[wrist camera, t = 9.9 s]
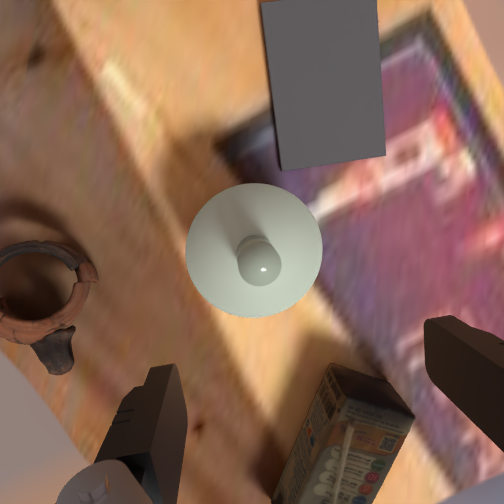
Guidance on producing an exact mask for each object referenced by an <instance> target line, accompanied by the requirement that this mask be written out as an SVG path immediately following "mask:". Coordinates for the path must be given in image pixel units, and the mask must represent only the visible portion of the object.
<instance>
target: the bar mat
mask: <svg viewBox="0 0 504 504" xmlns="http://www.w3.org/2000/svg"><path fill="white" fill-rule="evenodd" d="M260 7H261V15H262V23H263V31H264V39H265V47H266V55H267V63H268V71H269V79H270V87H271V94H272V102H273V110H274V118H275V126H276V134H277V142H278V150H279V158H280V166H281V171H288V170H294V169H301V168H308V167H314V166H321V165H327V164H334V163H340V162H347V161H354V160H360V159H367V158H373V157H380V156H386V147H385V130H384V113H383V97H382V80H381V64H380V47H379V31H378V14H377V0H279V1H271V2H263V3H261V6H260Z"/></svg>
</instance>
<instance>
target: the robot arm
mask: <svg viewBox="0 0 504 504" xmlns="http://www.w3.org/2000/svg"><path fill="white" fill-rule="evenodd" d="M424 349H425V366H426V370H427V373H428V375H429V377H430V379H431V381H432V382H433V383H434V384H435V385H436V386H437V387H438V388H439V389H440V390H441V391H442V392H443V393H444V394H445V395H446V396H447V397H448V398H449V399H450V400H451V401H452V402H453V403H454V404H455V405H456V406H457V407H458V408H459V409H460V410H461V411H462V412H463V413H464V414H465V415H466V416H467V417H468V418H469V419H470V420H471V421H472V422H473V423H474V424H475V425H476V426H477V427H478V428H479V429H480V430H481V431H482V432H483V433H484V434H486V435H487V436H488V437H489V438H490V439H491V440H492V441H493V442H494V443H495V444H496V445H497V446H498V447H499V448H500V449H501V450H502V451H503V452H504V341H503V340H502V339H500V338H498V337H497V336H495V335H493V334H491V333H489V332H486V331H483V330H479V329H476V328H473V327H471V326H469V325H467V324H466V323H464V322H462V321H461V320H459V319H457V318H456V317H454V316H452V315H448V316H442V317H436V318H431V319H427V320H426V321H425V322H424ZM187 426H188V419H187V409H186V404H185V399H184V395H183V390H182V386H181V381H180V377H179V372H178V368H177V366H176V364H175V363H174V364H168V365H162V366H157V367H151V368H150V370H149V373H148V375H147V378H146V380H145V383H144V386H138V387H134V388H133V389H132V390H131V391H130V392H129V393H128V394H127V395H126V396H125V397H124V398H123V400H122V402H121V404H120V406H119V408H118V411H117V415H115V417H114V419H113V422H112V426H110V428H109V430H108V432H107V435H106V437H105V439H104V441H103V443H102V446H101V448H100V450H99V452H98V454H97V457H96V459H95V461H94V463H93V464H92V465H90V466H88V467H86V468H85V469H83V470H81V471H80V472H79V473H77V474H76V475H75V476H74V477H73V478H71V479H70V481H68V483H67V484H66V485H65V486H64V487H63V489H62V490H61V492H60V494H59V496H58V498H57V502H56V504H176V503H177V497H178V490H179V483H180V476H181V469H182V462H183V455H184V448H185V441H186V434H187Z"/></svg>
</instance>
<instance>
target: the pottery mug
mask: <svg viewBox="0 0 504 504" xmlns="http://www.w3.org/2000/svg"><path fill="white" fill-rule="evenodd" d="M28 252H43V253H47V254H50V255H53V256H55V257H57V258H59V259H60V260H62V261H63V262H64V263H65V264H66V265H67V266H68V268H69V269H70V270H71V271H73V270H75V272H76V275H77V278H78V282H76V283H74V285H73V290H72V294H71V296H70V298H69V300H68V302H67V303H66V304H65V305H64V306H63V307H62V308H61V309H60V310H59V311H58V312H56V313H54V314H53V315H51V316H50V317H47V318H43V319H39V320H22V319H18V318H15V317H12V315H11V313H10V311H9V309H8V307H7V303H6V299H5V298H0V337H2V338H5V339H6V340H8V341H10V342H13V343H17V344H25V345H26V344H27V345H30V346H31V347H32V348H33V350H34V351H35V353H36V354H37V356H38V358H39V360H40V361H41V362H42V363H43V364H44V365H45V366H46V368H47V370H48V372H49V374H52V375H63V374H65V373H67V372H69V371H70V370H71V369H72V367H73V365H74V357H73V352H72V346H71V339H72V336H73V334H74V332H75V331H76V327H75V326H73V325H72V326H70V327H68V328H66V329H58V330H56V328H57V327H58V326H59V325H60V324H63V325H66V326H68V325H70V324H71V323H72V321H73V320H74V319H75V318H76V316H77V315H78V313H79V312H80V311H81V309H82V307H83V305H84V303H85V301H86V299H87V297H88V294H89V290H90V282H94V283H98V281H99V279H98V275H97V273H96V270H95V268H94V267H93V265H92V264H91V263H88V260H87V258H86V257H85V256H83V255H82V254H80V253H79V252H77V251H75V250H74V249H72V248H70V247H68V246H65V245H63V244H60V243H57V242H53V241H45V242H40V241H38V240H32V241H25V242H21V243H18V244H14V245H11V246H7V247H5V248H3V249H1V251H0V267H1V266H2V265H3V264H4V263H5V262H6V261H8V260H9V259H11V258H13V257H15V256H17V255H20V254H23V253H28Z"/></svg>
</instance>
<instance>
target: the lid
mask: <svg viewBox="0 0 504 504" xmlns="http://www.w3.org/2000/svg"><path fill="white" fill-rule="evenodd" d="M185 256H186V264H187V268H188V272H189V274H190V277H191V279H192V282H193V283H194V285H195V287H196V288H197V290H198V291H199V292H200V293H201V295H202V296H203V297H204V298H205V299H206V300H207V301H208V302H209V303H211V304H212V305H213V306H215V307H216V308H218V309H220V310H222V311H224V312H226V313H229V314H231V315H235V316H239V317H246V318H259V317H266V316H270V315H274V314H277V313H279V312H282V311H284V310H286V309H288V308H289V307H291V306H292V305H294V304H295V303H297V302H298V301H299V300H300V299H301V298H302V297H303V296H304V295H305V294H306V293H307V292H308V290H309V289H310V287H311V286H312V284H313V283H314V281H315V279H316V277H317V274H318V272H319V269H320V265H321V260H322V239H321V233H320V230H319V227H318V224H317V222H316V220H315V218H314V216H313V215H312V213H311V212H310V210H309V209H308V208H307V207H306V206H305V204H304V203H303V202H302V201H300V200H299V199H298V198H297V197H296V196H294V195H293V194H291V193H290V192H288V191H286V190H284V189H281V188H279V187H276V186H273V185H267V184H261V183H248V184H241V185H236V186H233V187H230V188H228V189H225V190H223V191H222V192H220V193H218V194H217V195H215V196H214V197H212V198H211V199H210V200H209V201H208V202H207V203H206V204H205V205H204V206H203V207H202V208H201V210H200V211H199V212H198V213H197V215H196V217H195V218H194V220H193V222H192V224H191V226H190V229H189V232H188V236H187V240H186V255H185Z"/></svg>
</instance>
